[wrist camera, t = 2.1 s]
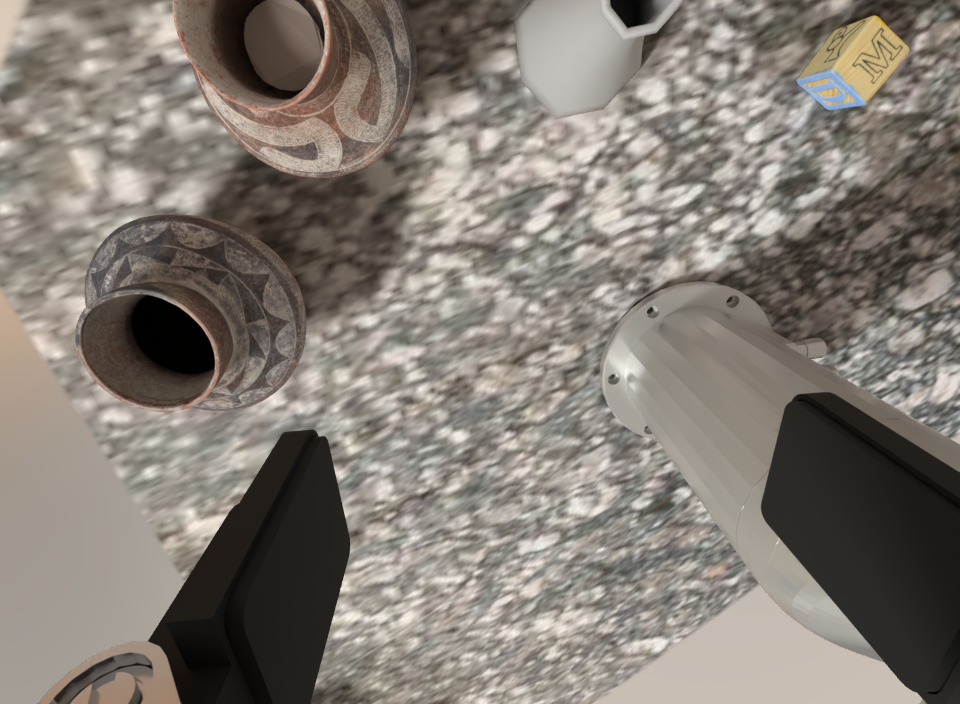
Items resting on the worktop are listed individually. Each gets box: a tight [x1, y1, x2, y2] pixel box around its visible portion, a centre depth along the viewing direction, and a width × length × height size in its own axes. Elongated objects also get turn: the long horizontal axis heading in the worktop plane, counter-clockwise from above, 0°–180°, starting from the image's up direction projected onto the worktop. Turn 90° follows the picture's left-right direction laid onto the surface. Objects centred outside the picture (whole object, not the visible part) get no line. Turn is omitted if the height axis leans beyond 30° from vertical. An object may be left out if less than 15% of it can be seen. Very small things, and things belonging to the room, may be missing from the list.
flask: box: [514, 0, 684, 119], centre depth 21 cm, size 7×7×10 cm
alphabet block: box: [796, 15, 910, 110], centre depth 26 cm, size 3×3×3 cm
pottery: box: [75, 0, 417, 412], centre depth 23 cm, size 11×25×12 cm, turn 149°
